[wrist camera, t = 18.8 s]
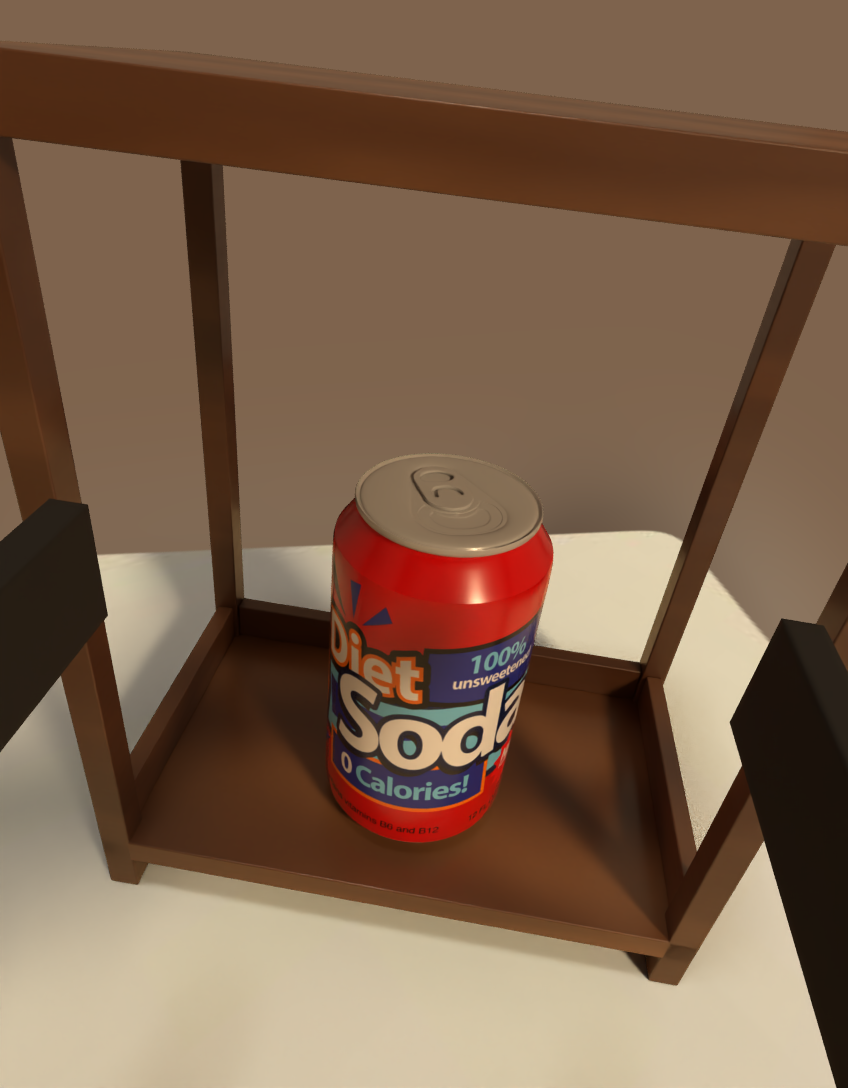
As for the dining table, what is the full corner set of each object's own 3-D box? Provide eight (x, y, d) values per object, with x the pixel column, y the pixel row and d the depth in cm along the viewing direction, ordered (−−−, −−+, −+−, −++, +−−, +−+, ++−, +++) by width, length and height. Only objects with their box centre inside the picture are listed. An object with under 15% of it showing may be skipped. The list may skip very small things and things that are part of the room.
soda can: (461, 701, 37) (509, 437, 29) (524, 833, 31) (607, 547, 23) (310, 727, 35) (314, 448, 27) (346, 875, 29) (366, 573, 20)
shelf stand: (677, 986, 29) (1157, 188, 13) (111, 880, 31) (-100, 35, 14) (638, 727, 41) (865, 133, 25) (227, 659, 42) (185, 51, 26)
